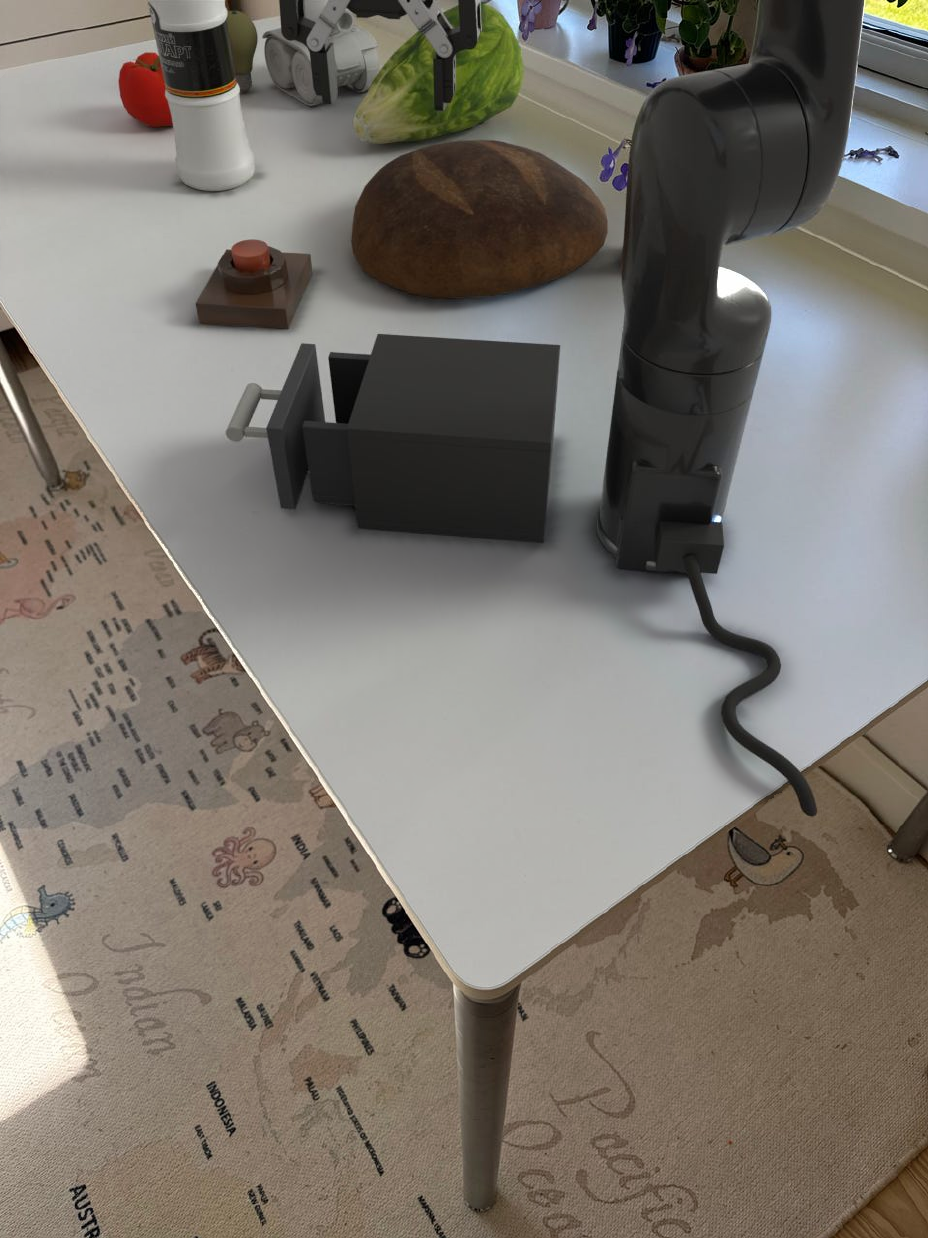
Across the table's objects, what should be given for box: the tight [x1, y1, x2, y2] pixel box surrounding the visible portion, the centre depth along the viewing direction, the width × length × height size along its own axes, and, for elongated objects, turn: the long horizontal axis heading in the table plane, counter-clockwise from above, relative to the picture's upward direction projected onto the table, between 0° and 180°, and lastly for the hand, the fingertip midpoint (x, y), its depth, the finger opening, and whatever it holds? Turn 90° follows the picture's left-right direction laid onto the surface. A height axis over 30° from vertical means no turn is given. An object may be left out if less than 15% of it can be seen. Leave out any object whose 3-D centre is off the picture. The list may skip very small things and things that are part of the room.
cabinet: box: [347, 333, 561, 544], centre depth 79 cm, size 15×13×10 cm
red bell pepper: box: [118, 51, 173, 128], centre depth 131 cm, size 9×9×8 cm
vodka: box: [146, 0, 257, 192], centre depth 111 cm, size 9×9×30 cm
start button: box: [230, 238, 271, 272], centre depth 99 cm, size 4×4×2 cm
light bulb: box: [226, 10, 259, 94], centre depth 136 cm, size 6×6×10 cm
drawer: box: [225, 342, 371, 510], centre depth 80 cm, size 18×11×8 cm, turn 83°
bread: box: [350, 139, 609, 299], centre depth 107 cm, size 28×27×9 cm
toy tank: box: [261, 0, 381, 107], centre depth 136 cm, size 15×11×13 cm
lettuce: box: [352, 3, 525, 145], centre depth 126 cm, size 14×23×13 cm, turn 126°
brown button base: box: [195, 245, 314, 330], centre depth 101 cm, size 11×9×4 cm
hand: (385, 103), depth 76 cm, fingers open, 8 cm apart
